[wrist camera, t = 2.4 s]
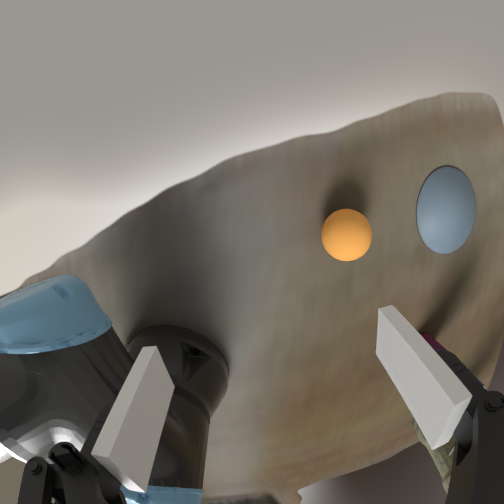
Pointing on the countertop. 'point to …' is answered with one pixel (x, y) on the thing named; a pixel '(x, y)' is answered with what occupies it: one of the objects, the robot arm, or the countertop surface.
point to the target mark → (446, 210)
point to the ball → (346, 234)
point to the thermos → (439, 455)
